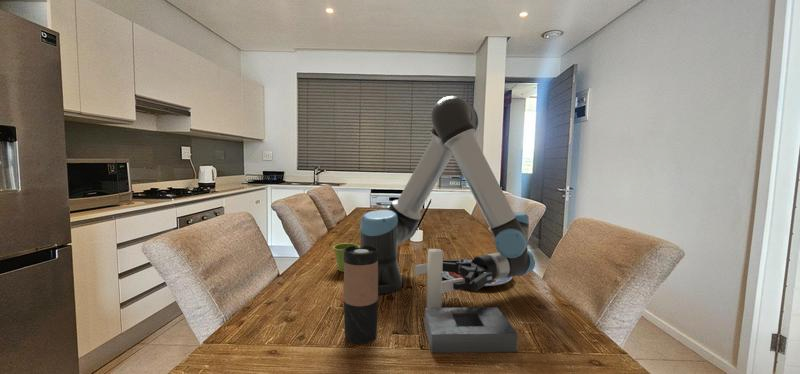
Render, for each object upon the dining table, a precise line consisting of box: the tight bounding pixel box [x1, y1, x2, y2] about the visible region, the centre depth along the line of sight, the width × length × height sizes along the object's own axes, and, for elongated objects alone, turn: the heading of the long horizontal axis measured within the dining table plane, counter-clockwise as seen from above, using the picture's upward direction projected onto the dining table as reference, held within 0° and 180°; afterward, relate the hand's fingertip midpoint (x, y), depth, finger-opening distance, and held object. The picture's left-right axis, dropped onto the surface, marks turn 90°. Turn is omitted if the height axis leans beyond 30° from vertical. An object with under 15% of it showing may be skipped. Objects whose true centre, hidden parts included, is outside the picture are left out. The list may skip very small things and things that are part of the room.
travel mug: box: [343, 245, 379, 345], centre depth 71 cm, size 8×8×20 cm
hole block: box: [423, 306, 518, 354], centre depth 72 cm, size 18×12×4 cm, turn 92°
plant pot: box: [332, 243, 360, 273], centre depth 115 cm, size 9×9×9 cm
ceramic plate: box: [442, 259, 513, 287], centre depth 111 cm, size 26×26×3 cm
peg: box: [426, 248, 444, 308], centre depth 85 cm, size 4×4×16 cm
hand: (426, 278), depth 84 cm, fingers open, 13 cm apart
